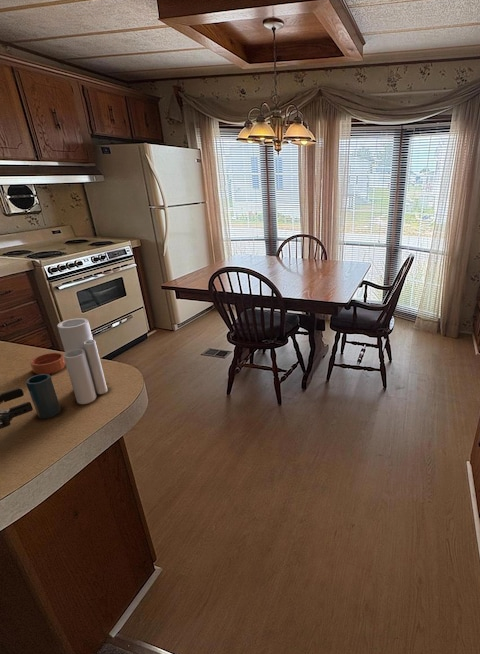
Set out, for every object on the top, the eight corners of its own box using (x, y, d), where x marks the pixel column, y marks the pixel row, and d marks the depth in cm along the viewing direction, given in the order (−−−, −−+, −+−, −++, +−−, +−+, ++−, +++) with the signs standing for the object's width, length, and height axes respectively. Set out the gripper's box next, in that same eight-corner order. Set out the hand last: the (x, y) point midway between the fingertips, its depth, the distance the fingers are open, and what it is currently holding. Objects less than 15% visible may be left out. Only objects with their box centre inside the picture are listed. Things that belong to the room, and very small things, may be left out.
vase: (75, 385, 97) (56, 321, 90) (104, 378, 101) (89, 316, 94) (77, 406, 89) (56, 337, 81) (109, 397, 93) (92, 330, 85)
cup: (39, 421, 83) (26, 386, 79) (37, 411, 86) (25, 377, 83) (62, 413, 86) (51, 379, 82) (59, 404, 89) (48, 371, 85)
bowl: (42, 378, 100) (39, 367, 99) (28, 370, 104) (24, 360, 102) (71, 366, 107) (68, 356, 106) (57, 359, 110) (54, 350, 109)
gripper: (-78, 434, 64) (30, 397, 76) (-84, 403, 73) (14, 374, 84) (-62, 464, 67) (39, 424, 79) (-69, 431, 76) (24, 399, 87)
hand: (26, 398), depth 82 cm, fingers open, 8 cm apart
